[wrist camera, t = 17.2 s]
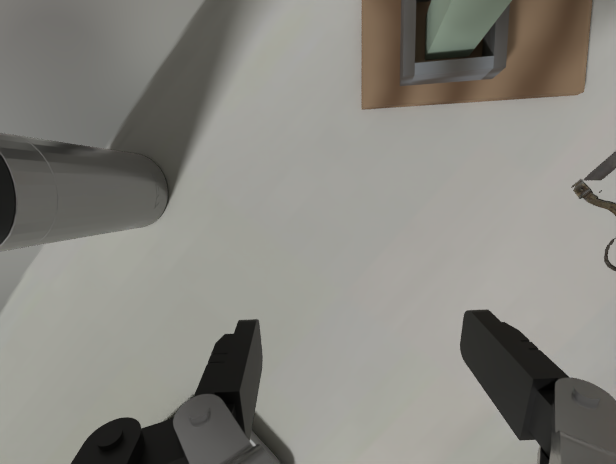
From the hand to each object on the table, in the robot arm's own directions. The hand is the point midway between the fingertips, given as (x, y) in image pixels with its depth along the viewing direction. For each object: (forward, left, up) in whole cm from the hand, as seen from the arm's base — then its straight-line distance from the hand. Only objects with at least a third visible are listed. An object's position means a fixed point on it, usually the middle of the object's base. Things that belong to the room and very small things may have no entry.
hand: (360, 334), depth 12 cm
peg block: (+8, +20, -22) cm, 31 cm away
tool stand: (+10, +20, -23) cm, 32 cm away
